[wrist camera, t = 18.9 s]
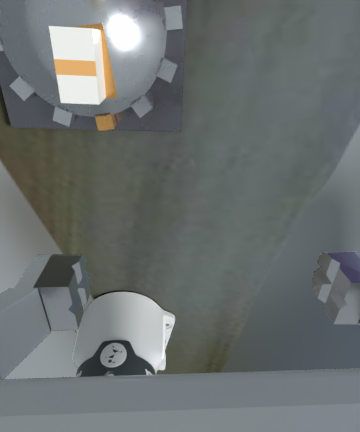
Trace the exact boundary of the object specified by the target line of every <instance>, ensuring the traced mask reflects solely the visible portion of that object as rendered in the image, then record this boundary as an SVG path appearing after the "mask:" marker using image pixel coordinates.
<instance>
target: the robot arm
mask: <svg viewBox="0 0 360 432" xmlns="http://www.w3.org/2000/svg"><path fill="white" fill-rule="evenodd" d="M318 264H319V266H320V267H319V268H318V269H317V270H316V271H314V274H313V278H312V287H313V290H314V293H315V295H316V296H317V298H318V299H320V300H321V301H323V302H324V303H325V306H324V309H325V311H326V313H327V314H328V316H329V317H330V319H331V320H332V322H333V324H359V326H360V251H357V252H328V253H322V254H321V255H320V256H319V259H318ZM86 266H87V262H86V257H85V256H84V255H72V254H54V255H52V254H39V255H36V256H35V257H34V258H33V260H32V261H31V263H30V265H29V266H28V268H27V269H26V271H25V272H24V274H23V275H22V277H21V278H20V280H19V281H18V283H17V285H16V286H15V288H12V289H11V288H9V289H7V290H6V291H4V292H2V293H1V294H0V432H360V369H333V370H331V369H330V370H300V371H299V370H297V371H263V372H230V373H196V374H162V375H156V372H157V370H165V364H166V354H165V349H166V346H167V343H168V340H169V337H170V334H171V332H172V329H173V326H174V323H175V316H174V315H173V314H171V313H169V312H167V311H165V310H163V309H161V308H160V307H159V306H158V305H157V304H156V303H155V302H154V301H153V300H151V299H149V298H148V297H146V296H143V295H140V294H137V293H132V292H113V293H108V294H105V295H102V296H100V297H98V298H96V299H95V300H93V301H92V302H91V303H90V304H89V305H88V306H87V308H86V309H85V310H84V311H83V307H82V306H83V305H84V304H86V303H87V300H88V297H89V292H90V279H89V274H88V273H86V272H85V269H86ZM63 330H75V331H76V333H77V335H76V339H75V344H74V348H73V353H72V361H73V362H74V364H75V366H76V367H77V368H78V370H77V374H76V377H65V378H64V377H62V378H32V379H31V378H29V379H5V378H6V377H7V376H8V375H9V374H10V373H11V372H12V371H13V370H14V369H15V368H16V367H17V366H18V365H19V364H20V363H21V362H22V361H23V360H24V359H25V358H26V357H27V356H28V355H29V354H30V353H31V352H32V351H33V350H34V349H35V348H36V347H37V346H38V345H39V344H40V343H41V342H42V341H43V340H44V339H45V338H46V337H47V336H48V335H49V334H50V333H51V331H63Z"/></svg>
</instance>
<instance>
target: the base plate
mask: <svg viewBox="0 0 360 432" xmlns="http://www.w3.org/2000/svg"><path fill="white" fill-rule="evenodd" d="M162 1H163V4H164V7H172V6H180V5H181V14H182V26H183V29H179V30H171V31H167V36H166V48H165V54H164V58H166V59H168V60H170V61H172V62H174V63H176V64H177V65H178V66H177V68H176V71H175V73H174V76H173V79H172V81H171V83H170V82H168V81H166V80H164V79H162V78H159V77H156V79H155V81H154V82H153V84H152V86H151V87H150V89H149V90H148V91H147V92H146V95H147V97H148V98H149V99H150V101H151V102H152V103H153V108H152V109H151V110H150V111H148V112H147V113H146V114H145V115H143V116H142V117H141V118H140V117H139V116H138V115H137V113H136V112H135V111H134V110H133V108H132V107H131V106H130V107H129V108H127V109H125V110H123V111H121V112H118V113H115V114H114V115H115V119H116V124H117V125H116V127H115V129H110V130H128V131H165V132H181V125H182V103H183V81H184V58H185V36H186V13H187V0H162ZM18 77H19V75H18V74H17V72H16V71H15V69H14V68H13V66H12V65H11V63H10V62H9V60H8V58H7V56H6V54H5V53H4V51H3V52H0V85H1V89H2V93H3V97H4V101H5V105H6V108H7V112H8V116H9V120H10V124H11V127H20V128H56V129H92V130H98V127H97V123H96V119H95V117H91V116H81V115H77V114H76V116H75V120H74V123H73V124H72V125H71V126H70V127H68V126H66V125H63V124H61V123H58V122H56V121H53V115H54V111H55V106H53V105H52V104H50V103H49V102H47V101H45V100H44V99H43V98H41V97H40V96H39V95H38V94H35V95H34V96H33V97H32V98H30V99H28V100H25V101H23V99H22V98H21V97H20V96H19V95H18V94H17V93H16V92H15V91H14V90H13V89H12V88H11V87H10V85H11V84H12V83H13V82H14V81H15V80H16V79H17V78H18Z"/></svg>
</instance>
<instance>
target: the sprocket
mask: <svg viewBox="0 0 360 432" xmlns="http://www.w3.org/2000/svg"><path fill="white" fill-rule="evenodd" d="M49 26H59V27H76V28H92V29H98V30H101V41H102V53H103V66H104V78H105V91H106V98H105V99H104V100H103V101H102V102H101V103H100V104H99V105H97V104H72V103H61V101H60V94H59V88H58V82H57V76H56V70H55V64H54V57H53V50H52V44H51V38H50V31H49ZM179 29H183V26H182V14H181V5H180V6H172V7H164V4H163V1H162V0H0V52H3V51H4V53H5V54H6V56H7V58H8V60H9V62H10V63H11V65H12V66H13V68H14V69H15V71H16V72H17V74H18V75H19V77H18V78H17V79H16V80H15V81H14V82H13V83H12V84H11V85H10V87H11V88H12V89H13V90H14V91H15V92H16V93H17V94H18V95H19V96H20V97H21V98H22V99H23V101H25V100H28V99H30V98H32V97H33V96H34V95H35V94H38V95H39V96H40V97H41V98H43V99H44V100H45V101H47V102H49V103H50V104H52V105H53V106H55V111H54V115H53V121H56V122H58V123H61V124H63V125H66V126H68V127H70V126H71V125H72V124H73V123H74V120H75V116H76V114H77V115H81V116H91V117H95V119H96V123H97V127H98V131H102V130H110V129H115V127H116V125H117V124H116V119H115V115H114V114H115V113H118V112H121V111H123V110H125V109H127V108H129V107H130V106H131V107H132V108H133V110H134V111H135V112H136V113H137V115H138V116H139V117H140V118H141V117H142V116H143V115H145V114H146V113H147V112H148V111H150V110H151V109H152V108H153V103H152V102H151V101H150V99H149V98H148V97H147V95H146V92H147V91H148V90H149V89H150V87H151V86H152V84H153V82H154V81H155V79H156V77H159V78H162V79H164V80H166V81H168V82H170V83H171V81H172V79H173V76H174V73H175V71H176V68H177V66H178V65H177V64H176V63H174V62H172V61H170V60H168V59H166V58H164V54H165V48H166V36H167V31H171V30H179Z"/></svg>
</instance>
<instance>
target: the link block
mask: <svg viewBox="0 0 360 432" xmlns="http://www.w3.org/2000/svg"><path fill="white" fill-rule="evenodd" d="M49 31H50V38H51V44H52V50H53V57H54V64H55V70H56V76H57V82H58V88H59V94H60V101H61V103H72V104H97V105H99V104H100V103H101V102H102V101H103V100H104V99H105V98H106V91H105V78H104V66H103V53H102V41H101V30H98V29H92V28H76V27H59V26H49Z"/></svg>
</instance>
